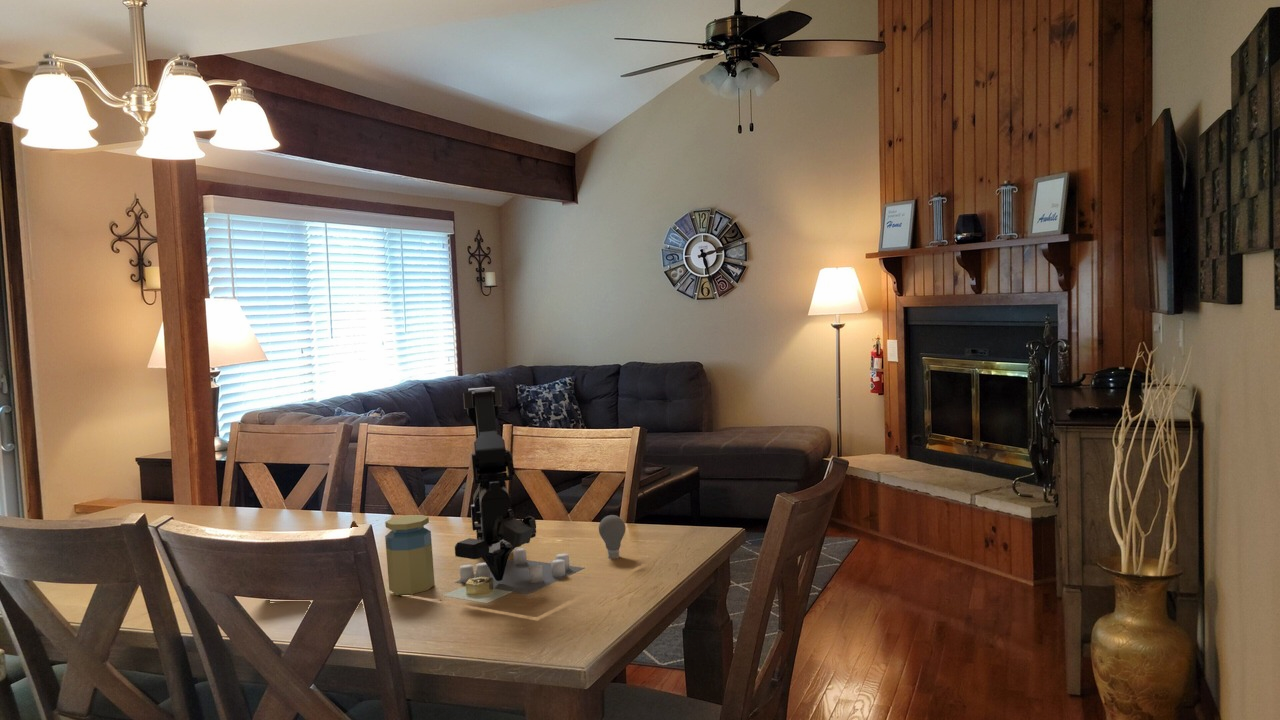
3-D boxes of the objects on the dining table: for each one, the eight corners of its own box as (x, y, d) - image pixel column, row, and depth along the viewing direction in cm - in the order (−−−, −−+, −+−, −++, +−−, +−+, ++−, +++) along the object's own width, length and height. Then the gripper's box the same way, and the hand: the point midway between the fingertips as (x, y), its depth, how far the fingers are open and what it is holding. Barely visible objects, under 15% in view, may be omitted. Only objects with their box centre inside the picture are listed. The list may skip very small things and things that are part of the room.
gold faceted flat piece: (461, 592, 184) (460, 581, 183) (479, 586, 187) (478, 575, 187) (480, 596, 180) (480, 585, 180) (498, 589, 184) (497, 578, 184)
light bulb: (624, 563, 200) (621, 518, 199) (597, 563, 201) (594, 518, 200) (629, 555, 206) (627, 512, 205) (604, 555, 207) (601, 512, 206)
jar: (444, 586, 190) (439, 516, 190) (411, 600, 183) (405, 526, 182) (413, 581, 195) (407, 513, 194) (380, 594, 188) (374, 523, 187)
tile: (442, 598, 183) (442, 595, 183) (468, 587, 189) (468, 584, 189) (486, 606, 176) (486, 603, 176) (512, 594, 182) (512, 591, 182)
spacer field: (454, 585, 191) (453, 568, 191) (514, 560, 207) (513, 545, 207) (527, 597, 180) (526, 579, 180) (585, 570, 196) (584, 554, 196)
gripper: (491, 520, 175) (497, 599, 176) (553, 499, 190) (557, 572, 192) (450, 515, 181) (456, 592, 182) (513, 495, 197) (517, 566, 198)
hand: (499, 580), depth 188 cm, fingers closed
